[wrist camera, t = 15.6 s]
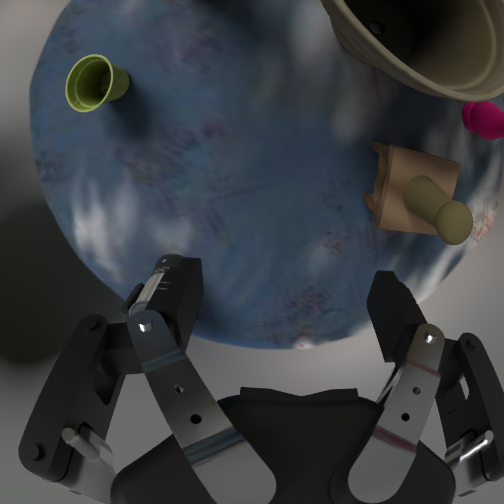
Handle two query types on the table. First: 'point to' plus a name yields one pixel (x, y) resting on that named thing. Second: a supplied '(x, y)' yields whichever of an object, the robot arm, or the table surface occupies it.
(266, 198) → the table surface
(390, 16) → the plant pot
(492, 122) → the pepper mill
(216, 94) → the table surface
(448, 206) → the cork
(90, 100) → the plant pot
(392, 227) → the footstool
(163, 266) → the milk frother
